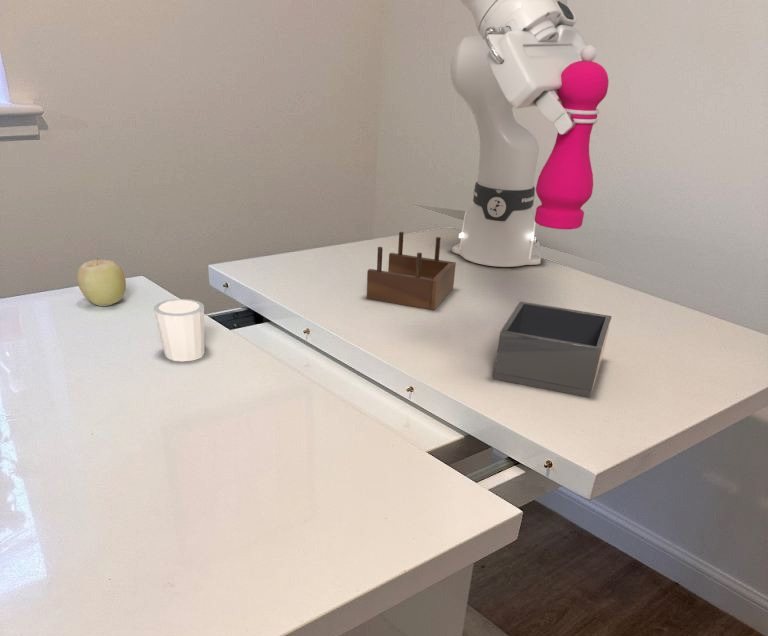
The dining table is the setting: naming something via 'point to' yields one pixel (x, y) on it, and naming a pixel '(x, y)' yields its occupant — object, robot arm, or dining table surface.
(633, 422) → the dining table surface
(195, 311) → the white cup
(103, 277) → the fruit
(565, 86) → the pepper mill
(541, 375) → the gray open box
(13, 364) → the dining table surface
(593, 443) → the dining table surface
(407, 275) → the rack
